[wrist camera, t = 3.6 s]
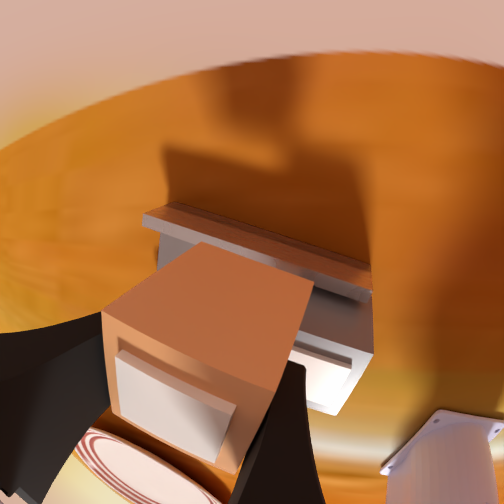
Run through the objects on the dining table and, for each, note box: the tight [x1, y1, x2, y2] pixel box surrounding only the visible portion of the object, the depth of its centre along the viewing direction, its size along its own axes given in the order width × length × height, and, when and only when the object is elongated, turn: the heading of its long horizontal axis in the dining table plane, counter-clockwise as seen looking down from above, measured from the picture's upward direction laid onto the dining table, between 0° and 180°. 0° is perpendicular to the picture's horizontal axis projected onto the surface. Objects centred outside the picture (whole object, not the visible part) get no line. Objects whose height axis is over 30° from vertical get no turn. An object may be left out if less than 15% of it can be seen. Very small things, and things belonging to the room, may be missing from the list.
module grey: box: [288, 286, 374, 416], centre depth 14 cm, size 4×4×5 cm
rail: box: [142, 202, 373, 303], centre depth 17 cm, size 6×12×3 cm, turn 77°
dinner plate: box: [75, 427, 222, 504], centre depth 34 cm, size 28×27×3 cm
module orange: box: [101, 241, 314, 475], centre depth 9 cm, size 4×4×5 cm
